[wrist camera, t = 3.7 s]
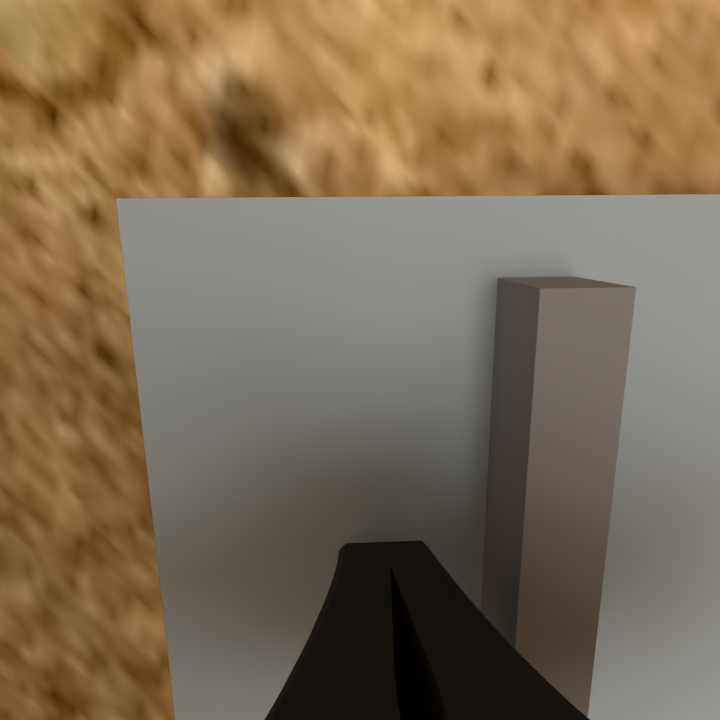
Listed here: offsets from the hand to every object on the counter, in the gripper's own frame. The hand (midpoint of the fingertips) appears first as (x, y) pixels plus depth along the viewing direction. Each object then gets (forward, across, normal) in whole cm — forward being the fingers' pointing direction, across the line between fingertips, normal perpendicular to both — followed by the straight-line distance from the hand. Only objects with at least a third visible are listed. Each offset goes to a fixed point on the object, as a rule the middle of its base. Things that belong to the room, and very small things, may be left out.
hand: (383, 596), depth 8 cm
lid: (+1, -5, 0) cm, 6 cm away
